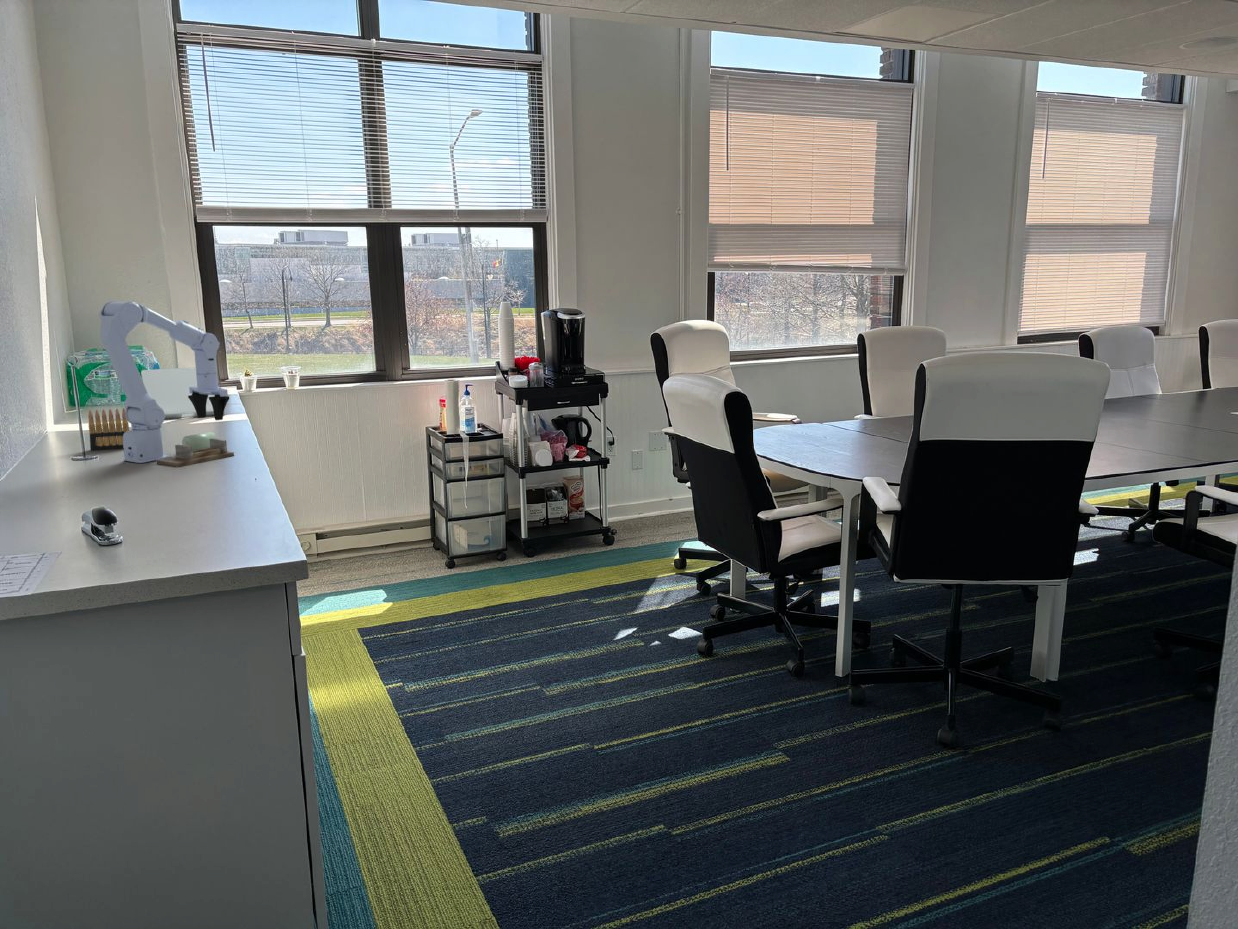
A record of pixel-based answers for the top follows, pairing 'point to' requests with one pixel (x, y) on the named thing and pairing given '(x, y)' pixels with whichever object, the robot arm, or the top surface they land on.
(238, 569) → the top surface
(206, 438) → the roll
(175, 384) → the tablet stand
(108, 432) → the ammunition clip
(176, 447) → the holder
